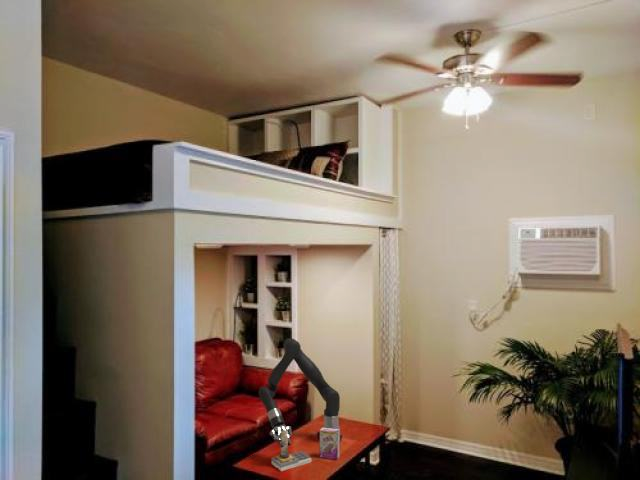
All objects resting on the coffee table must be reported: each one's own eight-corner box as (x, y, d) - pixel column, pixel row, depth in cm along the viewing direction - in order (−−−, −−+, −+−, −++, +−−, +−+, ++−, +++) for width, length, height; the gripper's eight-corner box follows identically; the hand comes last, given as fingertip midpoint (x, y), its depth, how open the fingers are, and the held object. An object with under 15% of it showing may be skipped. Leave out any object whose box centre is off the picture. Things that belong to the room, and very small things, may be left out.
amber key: (287, 455, 285) (287, 453, 285) (293, 459, 279) (293, 457, 279) (276, 458, 281) (276, 456, 281) (282, 462, 275) (282, 460, 275)
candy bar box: (319, 458, 288) (318, 430, 288) (321, 454, 293) (321, 427, 293) (337, 460, 285) (337, 431, 285) (339, 456, 290) (339, 428, 290)
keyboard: (301, 455, 292) (301, 449, 292) (311, 461, 283) (311, 455, 283) (271, 463, 281) (271, 457, 281) (281, 471, 272) (281, 464, 272)
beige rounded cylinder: (286, 453, 284) (286, 428, 284) (291, 456, 279) (291, 431, 279) (277, 455, 280) (277, 430, 281) (282, 459, 276) (282, 434, 276)
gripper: (267, 417, 282) (277, 445, 272) (288, 412, 290) (299, 440, 280) (262, 423, 286) (272, 452, 276) (284, 418, 294) (294, 446, 284)
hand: (286, 445), depth 278 cm, fingers closed on beige rounded cylinder, 4 cm apart
